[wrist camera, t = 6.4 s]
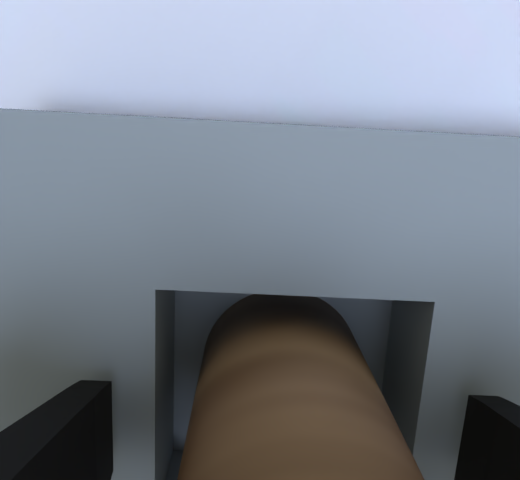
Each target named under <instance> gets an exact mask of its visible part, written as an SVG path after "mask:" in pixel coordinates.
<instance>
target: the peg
mask: <svg viewBox="0 0 520 480" xmlns="http://www.w3.org/2000/svg"><path fill="white" fill-rule="evenodd" d="M177 480H424V478H423V476H422V473H421V471H420V469H419V467H418V465H417V463H416V461H415V459H414V457H413V455H412V453H411V451H410V449H409V447H408V445H407V443H406V441H405V439H404V437H403V435H402V433H401V431H400V429H399V427H398V425H397V423H396V421H395V419H394V417H393V415H392V413H391V411H390V409H389V407H388V405H387V403H386V401H385V399H384V397H383V395H382V393H381V391H380V389H379V387H378V385H377V382H376V380H375V378H374V376H373V374H372V372H371V370H370V368H369V366H368V364H367V362H366V360H365V358H364V356H363V354H362V352H361V350H360V348H359V346H358V344H357V342H356V340H355V338H354V336H353V334H352V332H351V330H350V328H349V326H348V324H347V323H346V321H345V320H344V318H343V317H342V316H341V315H340V314H339V313H338V312H337V310H336V309H334V308H333V307H332V306H331V305H329V304H328V303H327V302H325V301H323V300H322V299H320V298H318V297H312V296H289V295H266V294H252V295H249V296H247V297H245V298H243V299H241V300H239V301H238V302H236V303H235V304H233V305H232V306H231V307H230V308H228V309H227V310H226V311H225V312H224V313H223V314H222V315H221V316H220V317H219V319H218V320H217V321H216V323H215V324H214V326H213V327H212V329H211V331H210V333H209V336H208V338H207V341H206V345H205V349H204V354H203V359H202V363H201V368H200V373H199V378H198V382H197V387H196V392H195V397H194V402H193V406H192V411H191V416H190V421H189V425H188V430H187V435H186V440H185V444H184V449H183V454H182V459H181V464H180V468H179V473H178V478H177Z"/></svg>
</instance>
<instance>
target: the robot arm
mask: <svg viewBox="0 0 520 480" xmlns="http://www.w3.org/2000/svg"><path fill="white" fill-rule="evenodd" d="M112 474H113V424H112V381H97V380H80V381H78V382H76V383H74V384H73V385H71V386H69V387H68V388H66V389H65V390H63V391H62V392H60V393H59V394H57V395H55V396H54V397H52V398H51V399H49V400H48V401H46V402H45V403H43V404H42V405H40V406H39V407H37V408H36V409H34V410H33V411H31V412H30V413H28V414H27V415H25V416H24V417H22V418H21V419H19V420H17V421H16V422H14V423H13V424H11V425H10V426H8V427H7V428H5V429H4V430H2V431H1V432H0V480H111V477H112ZM454 480H520V406H519V405H517V404H515V403H513V402H511V401H509V400H506V399H504V398H502V397H499V396H486V395H468V401H467V407H466V413H465V419H464V425H463V430H462V436H461V442H460V448H459V454H458V460H457V466H456V471H455V477H454Z"/></svg>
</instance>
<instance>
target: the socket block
mask: <svg viewBox="0 0 520 480" xmlns="http://www.w3.org/2000/svg"><path fill="white" fill-rule="evenodd" d="M252 294H266V295H289V296H312V297H318V298H320V299H322V300H323V301H325V302H327V303H328V304H329V305H331V306H332V307H333V308H334V309H336V310H337V312H338V313H339V314H340V315H341V316H342V317H343V318H344V320H345V321H346V323H347V324H348V326H349V328H350V330H351V332H352V334H353V336H354V338H355V340H356V342H357V344H358V346H359V348H360V350H361V352H362V354H363V356H364V358H365V360H366V362H367V364H368V366H369V368H370V370H371V372H372V374H373V376H374V378H375V380H376V382H377V385H378V387H379V389H380V391H381V393H382V395H383V397H384V399H385V401H386V403H387V405H388V407H389V409H390V411H391V413H392V415H393V417H394V419H395V421H396V423H397V425H398V427H399V429H400V431H401V433H402V435H403V437H404V439H405V441H406V443H407V445H408V447H409V449H410V451H411V453H412V455H413V457H414V459H415V461H416V463H417V465H418V467H419V469H420V471H421V473H422V476H423V478H424V480H454V477H455V471H456V466H457V460H458V454H459V448H460V442H461V436H462V430H463V425H464V419H465V413H466V407H467V401H468V395H486V396H499V397H502V398H504V399H506V400H509V401H511V402H513V403H515V404H517V405H519V406H520V137H513V136H495V135H477V134H458V133H440V132H422V131H404V130H385V129H367V128H349V127H331V126H312V125H294V124H276V123H258V122H239V121H221V120H203V119H185V118H166V117H148V116H130V115H112V114H93V113H75V112H57V111H39V110H20V109H2V108H0V432H1V431H2V430H4V429H5V428H7V427H8V426H10V425H11V424H13V423H14V422H16V421H17V420H19V419H21V418H22V417H24V416H25V415H27V414H28V413H30V412H31V411H33V410H34V409H36V408H37V407H39V406H40V405H42V404H43V403H45V402H46V401H48V400H49V399H51V398H52V397H54V396H55V395H57V394H59V393H60V392H62V391H63V390H65V389H66V388H68V387H69V386H71V385H73V384H74V383H76V382H78V381H80V380H97V381H112V424H113V474H112V477H111V480H177V478H178V473H179V468H180V464H181V459H182V454H183V449H184V444H185V440H186V435H187V430H188V425H189V421H190V416H191V411H192V406H193V402H194V397H195V392H196V387H197V382H198V378H199V373H200V368H201V363H202V359H203V354H204V349H205V345H206V341H207V338H208V336H209V333H210V331H211V329H212V327H213V326H214V324H215V323H216V321H217V320H218V319H219V317H220V316H221V315H222V314H223V313H224V312H225V311H226V310H227V309H228V308H230V307H231V306H232V305H233V304H235V303H236V302H238V301H239V300H241V299H243V298H245V297H247V296H249V295H252Z"/></svg>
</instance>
